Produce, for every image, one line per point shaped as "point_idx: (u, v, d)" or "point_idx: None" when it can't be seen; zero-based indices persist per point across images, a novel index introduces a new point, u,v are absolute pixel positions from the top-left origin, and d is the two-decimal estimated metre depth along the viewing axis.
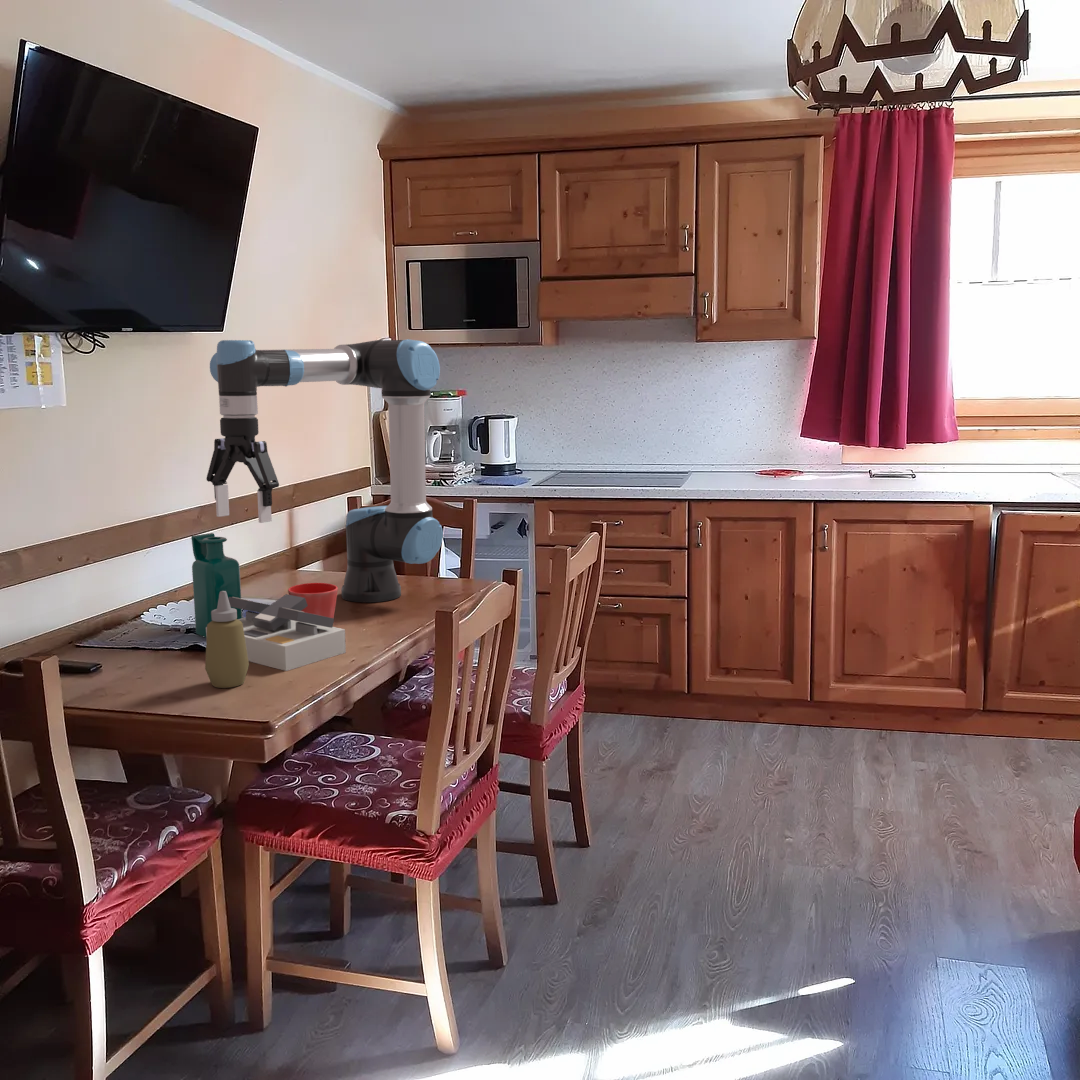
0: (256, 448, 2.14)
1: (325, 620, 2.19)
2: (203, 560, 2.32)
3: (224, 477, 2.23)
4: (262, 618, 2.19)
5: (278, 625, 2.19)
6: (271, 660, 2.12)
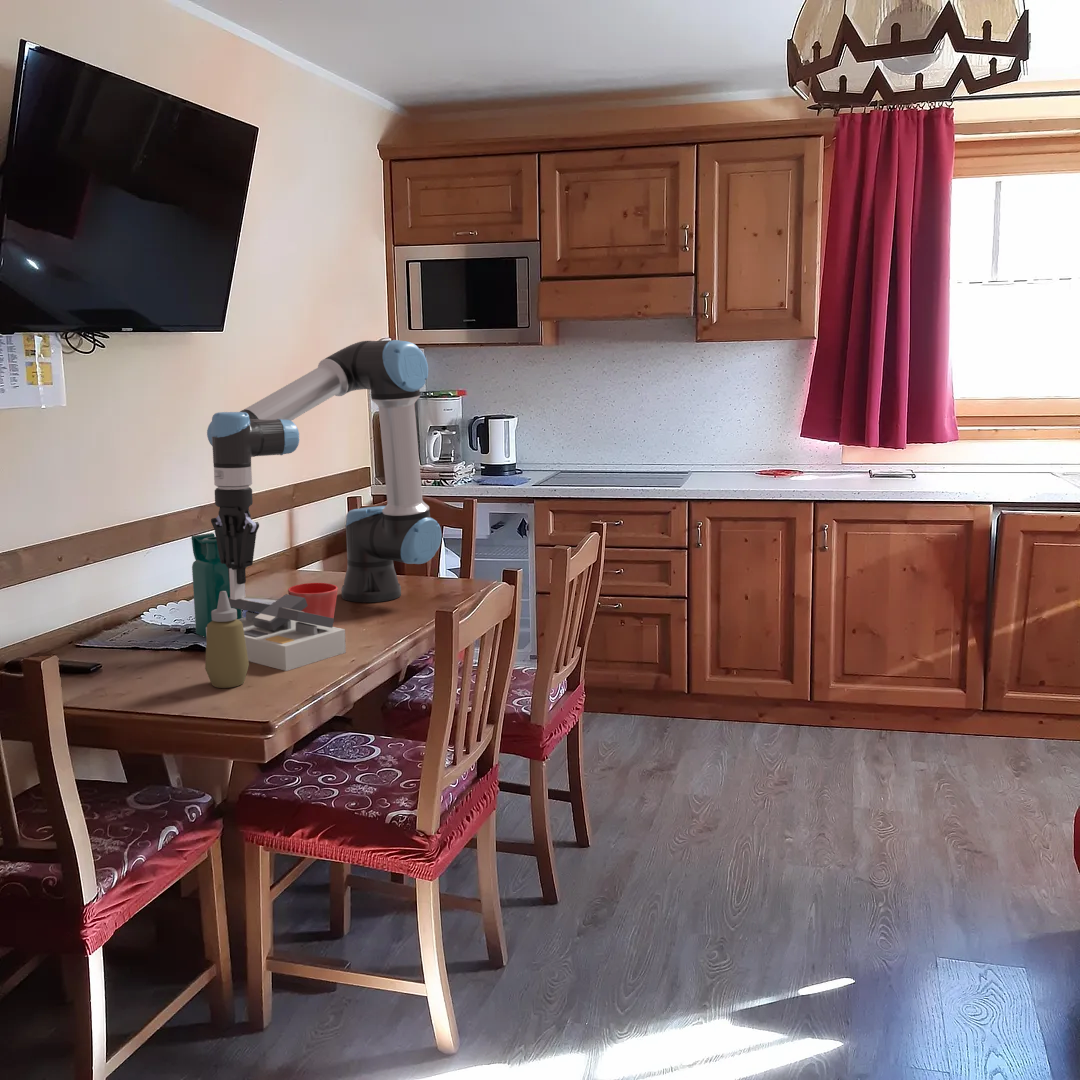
0: (247, 529, 2.17)
1: (325, 620, 2.19)
2: (203, 560, 2.32)
3: None
4: (262, 618, 2.19)
5: (278, 625, 2.19)
6: (271, 660, 2.12)
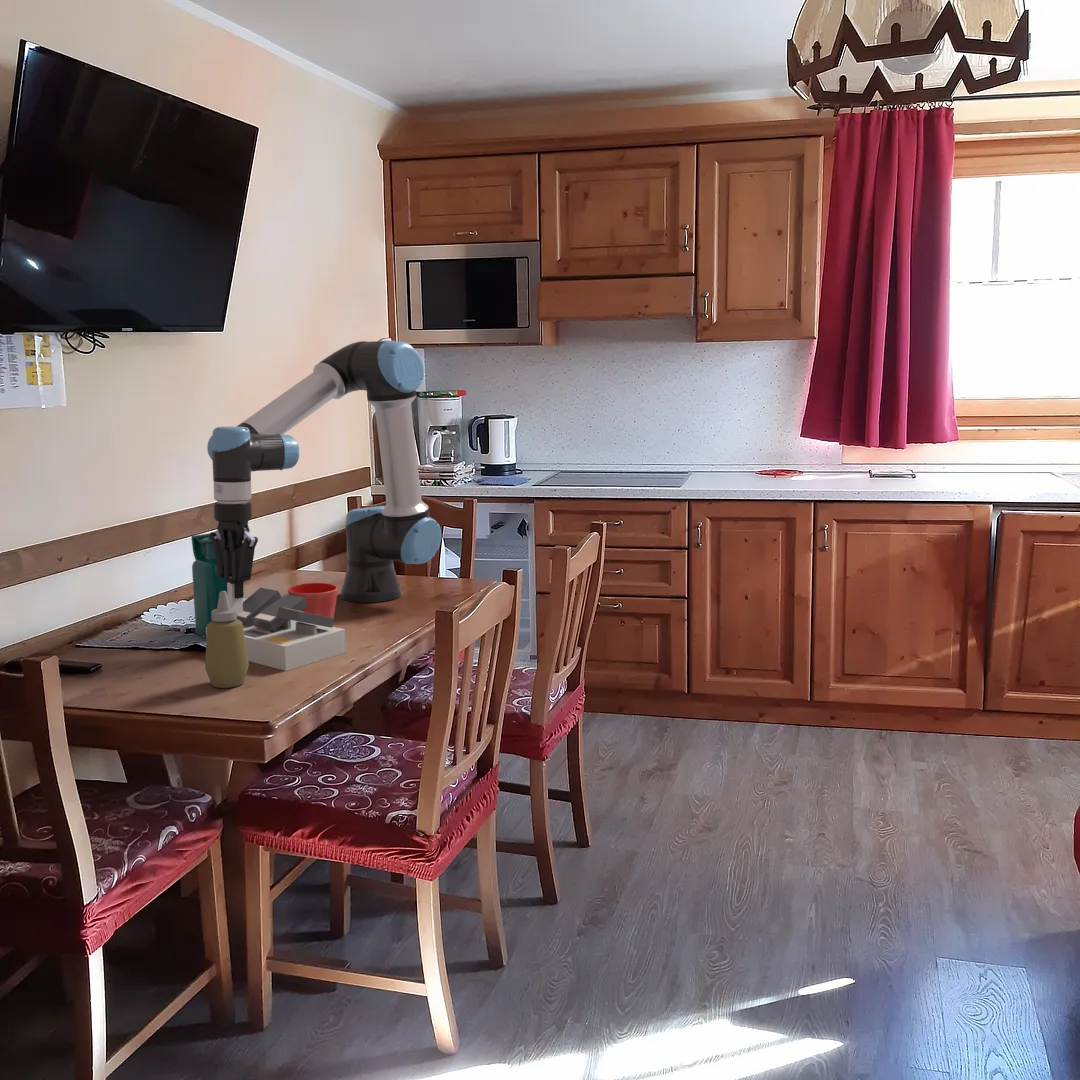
0: (245, 544, 2.17)
1: (325, 620, 2.19)
2: (203, 560, 2.32)
3: None
4: (262, 618, 2.19)
5: (278, 625, 2.19)
6: (271, 660, 2.12)
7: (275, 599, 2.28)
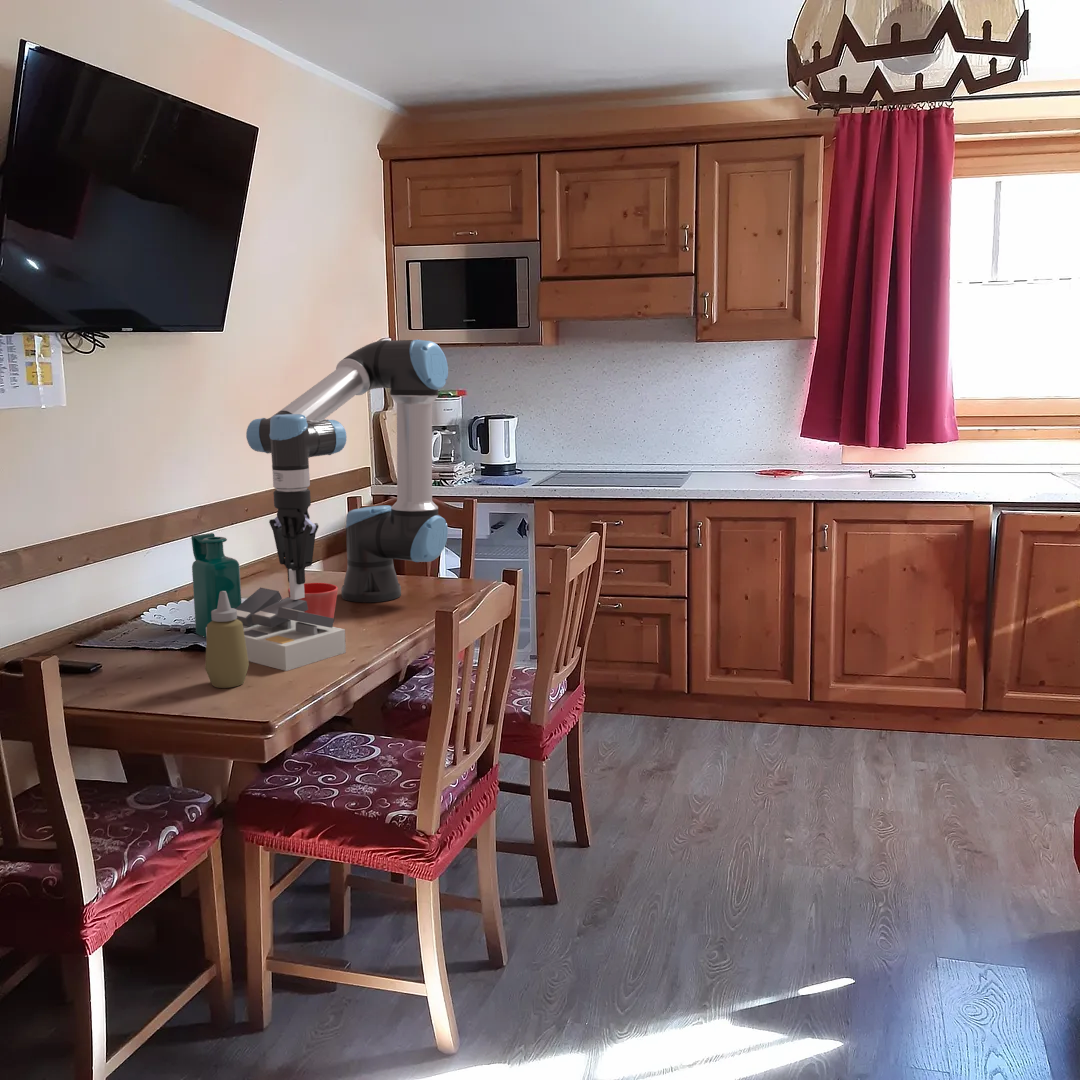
0: (307, 531, 2.19)
1: (325, 620, 2.19)
2: (203, 560, 2.32)
3: None
4: (262, 615, 2.19)
5: (277, 623, 2.19)
6: (271, 660, 2.12)
7: (275, 599, 2.28)
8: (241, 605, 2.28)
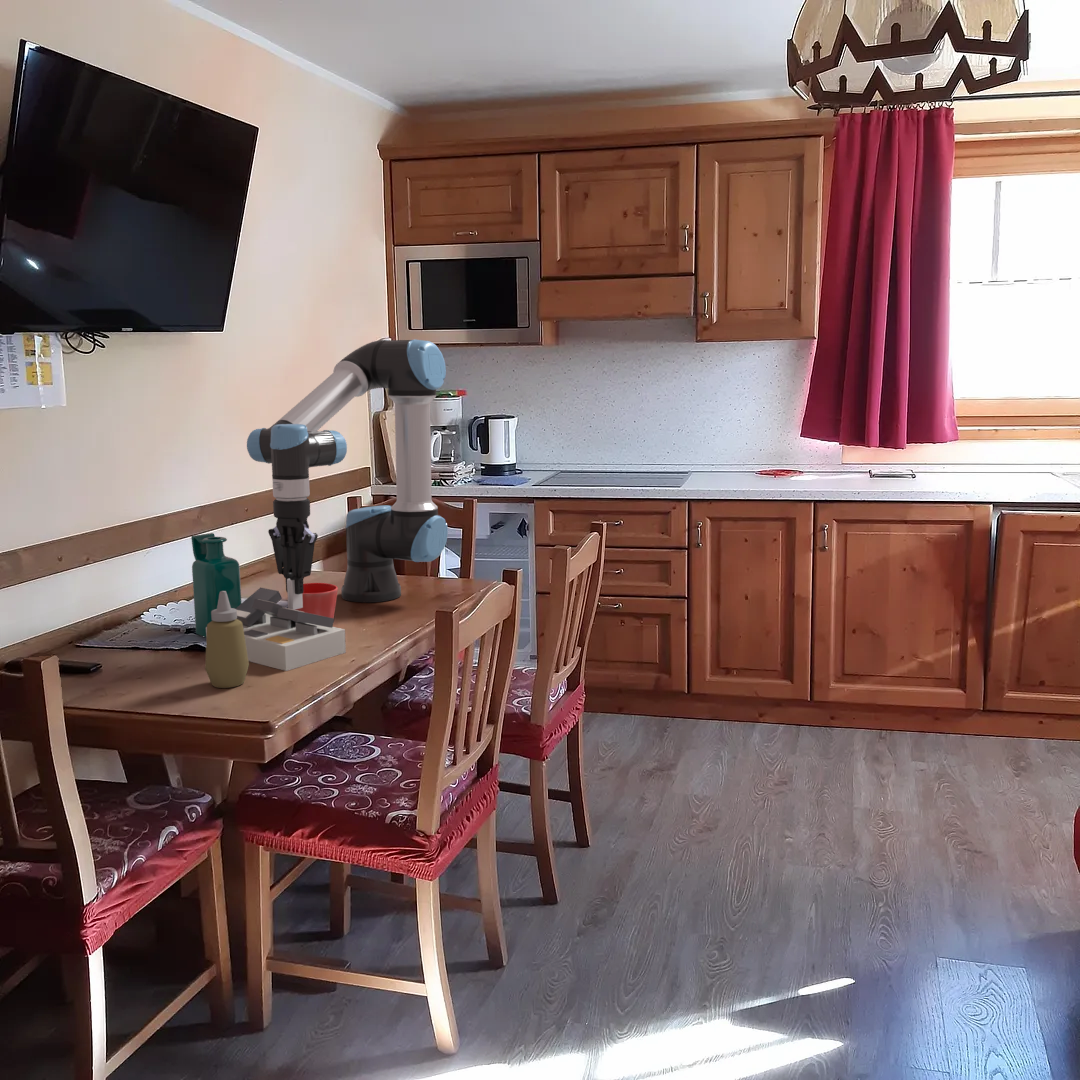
0: (306, 540, 2.19)
1: (325, 620, 2.19)
2: (203, 560, 2.32)
3: None
4: (265, 601, 2.20)
5: (276, 612, 2.18)
6: (271, 660, 2.12)
7: (275, 599, 2.28)
8: (241, 605, 2.28)
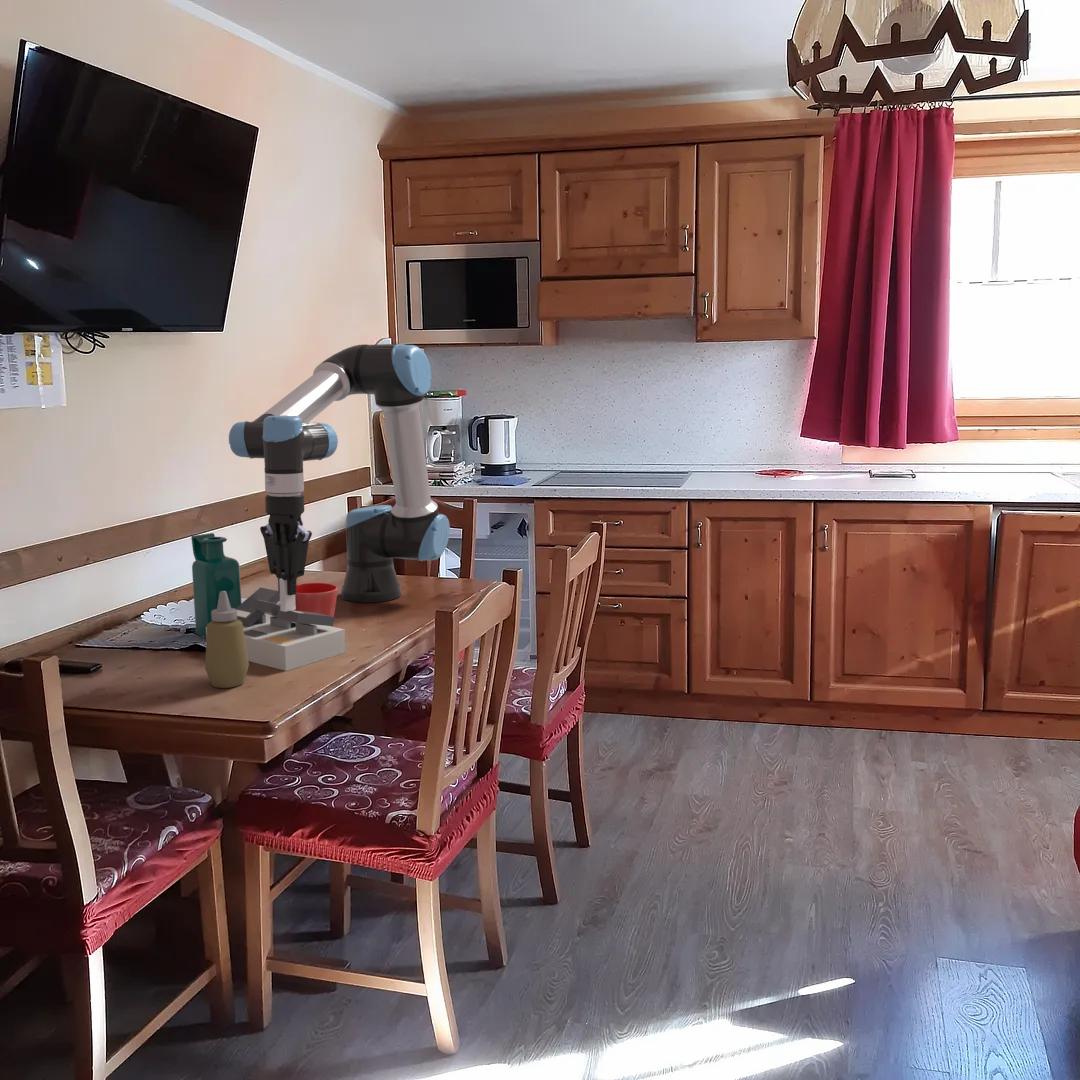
0: (299, 538, 2.07)
1: (325, 619, 2.19)
2: (203, 560, 2.32)
3: None
4: (265, 601, 2.20)
5: (276, 612, 2.18)
6: (271, 660, 2.12)
7: (275, 599, 2.28)
8: (241, 605, 2.28)
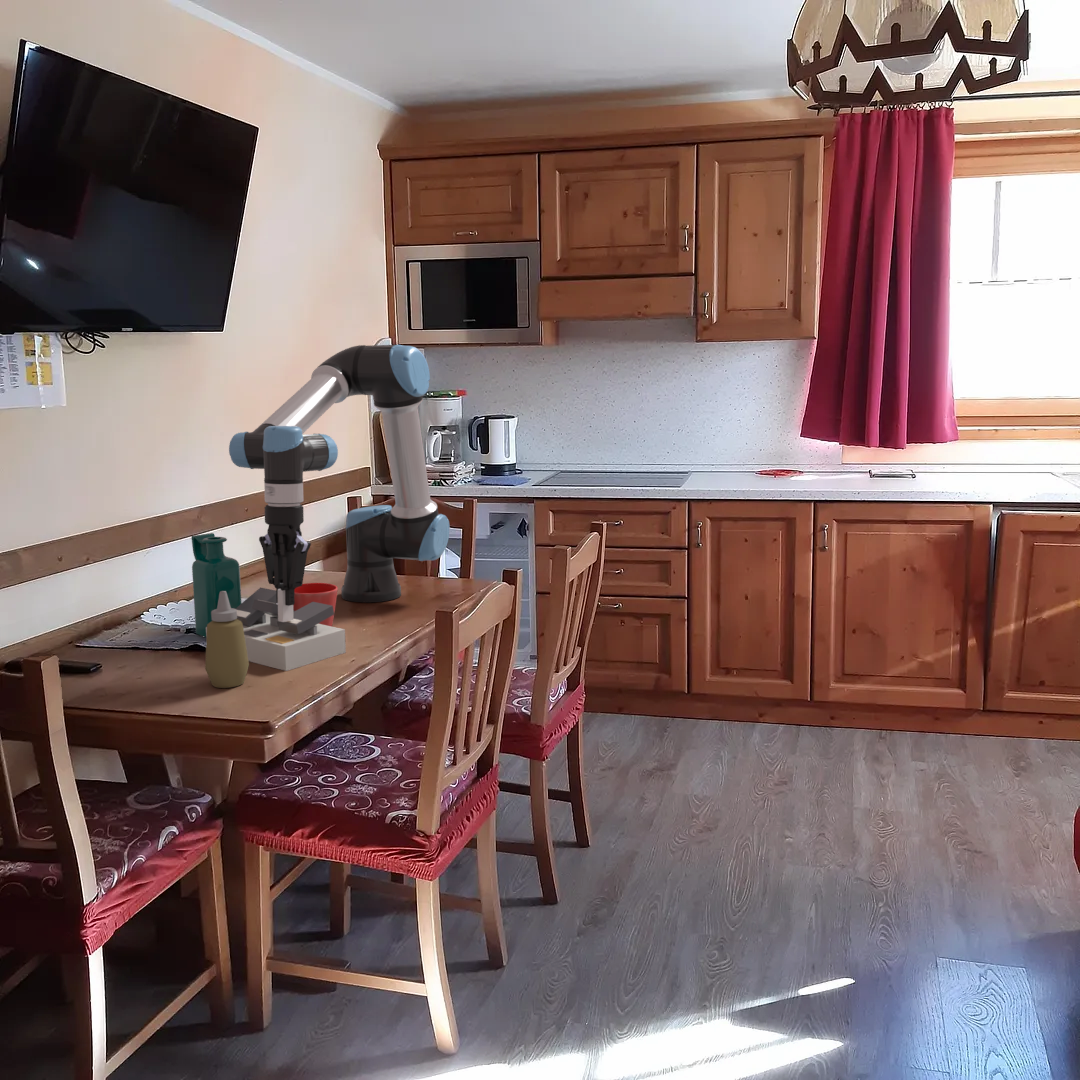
0: (298, 548, 2.07)
1: (325, 613, 2.18)
2: (203, 560, 2.32)
3: None
4: (265, 601, 2.20)
5: (276, 612, 2.18)
6: (271, 660, 2.12)
7: (275, 599, 2.28)
8: (241, 605, 2.28)
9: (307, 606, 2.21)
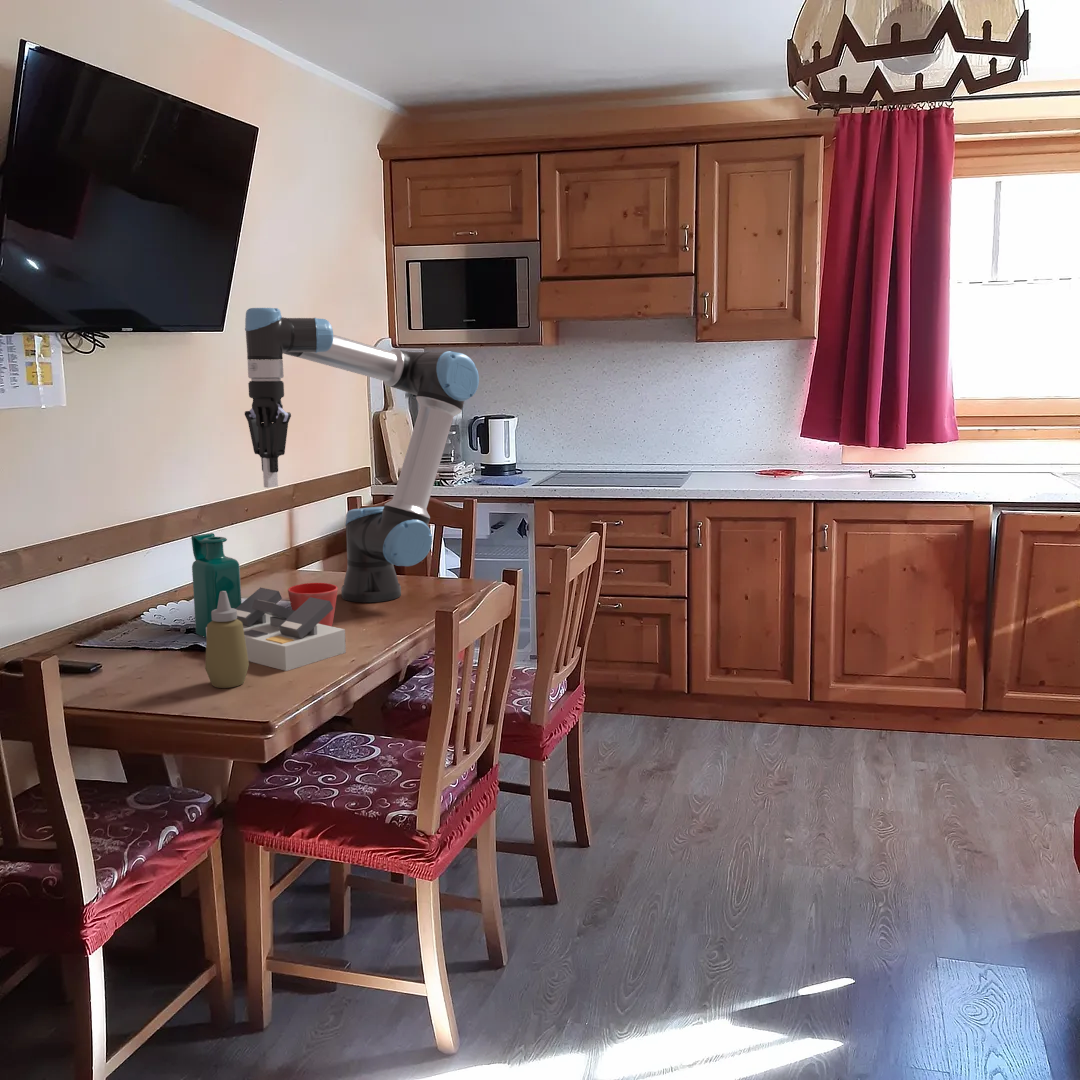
0: (279, 419, 2.29)
1: (323, 610, 2.18)
2: (203, 560, 2.32)
3: None
4: (265, 601, 2.20)
5: (276, 612, 2.18)
6: (271, 660, 2.12)
7: (275, 599, 2.28)
8: (241, 605, 2.28)
9: (305, 604, 2.21)
